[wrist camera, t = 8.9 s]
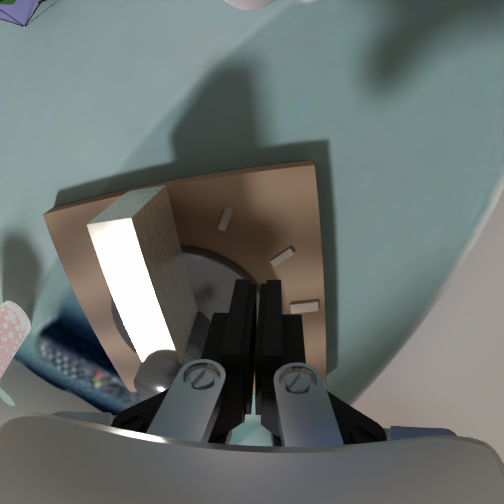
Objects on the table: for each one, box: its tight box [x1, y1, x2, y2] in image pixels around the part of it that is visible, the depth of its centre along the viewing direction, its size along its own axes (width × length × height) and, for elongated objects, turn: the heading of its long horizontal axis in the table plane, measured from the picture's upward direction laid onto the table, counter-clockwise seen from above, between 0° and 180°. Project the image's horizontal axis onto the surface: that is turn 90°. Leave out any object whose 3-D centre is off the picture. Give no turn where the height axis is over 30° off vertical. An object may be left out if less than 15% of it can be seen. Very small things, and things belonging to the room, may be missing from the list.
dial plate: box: [43, 160, 326, 394], centre depth 25 cm, size 20×20×2 cm
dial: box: [87, 185, 260, 400], centre depth 20 cm, size 16×12×7 cm
